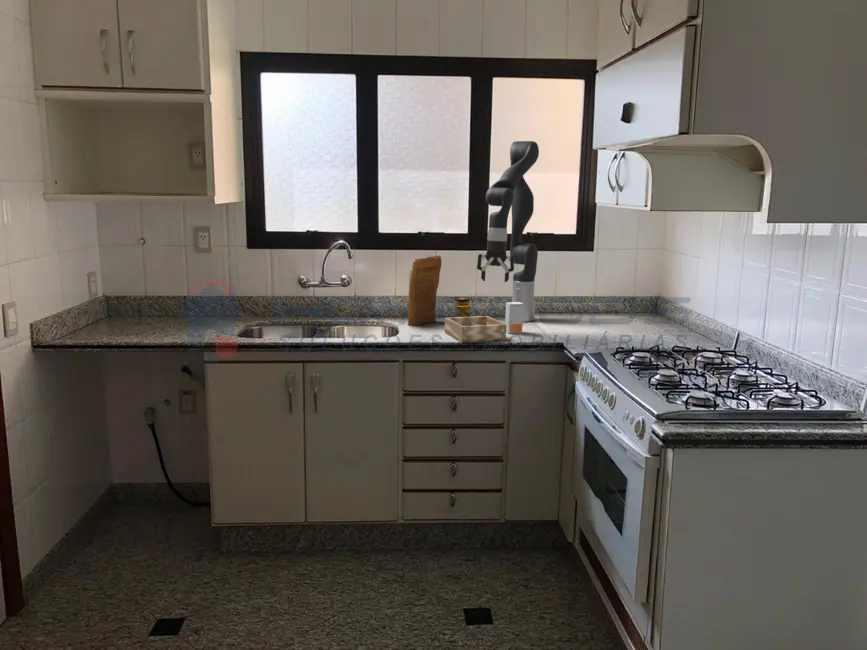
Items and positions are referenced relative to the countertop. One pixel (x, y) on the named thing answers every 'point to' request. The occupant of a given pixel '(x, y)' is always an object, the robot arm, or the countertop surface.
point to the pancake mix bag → (423, 290)
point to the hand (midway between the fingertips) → (494, 281)
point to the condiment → (462, 307)
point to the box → (475, 329)
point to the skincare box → (514, 317)
